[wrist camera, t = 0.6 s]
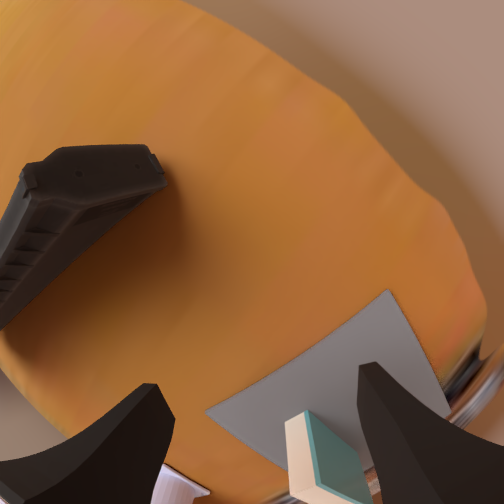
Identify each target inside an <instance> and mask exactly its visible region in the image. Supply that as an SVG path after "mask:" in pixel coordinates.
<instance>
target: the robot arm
mask: <svg viewBox="0 0 504 504" xmlns="http://www.w3.org/2000/svg"><path fill="white" fill-rule="evenodd" d="M356 405H357V409H358V414H359V419H360V423H361V428H362V431H363V434H364V437H365V440H366V443H367V446H368V449H369V451H370V454H371V457H372V460H373V463H374V466H375V470H376V473H377V476H378V480H379V484H380V489H381V495H382V501H383V504H504V446H501V445H498V444H495V443H492V442H489V441H487V440H485V439H482V438H480V437H477V436H475V435H473V434H470V433H468V432H466V431H464V430H463V429H461V428H459V427H457V426H455V425H454V424H452V423H450V422H449V421H447V420H445V419H444V418H442V417H441V416H439V415H438V414H436V413H435V412H434V411H432V410H431V409H430V408H428V407H427V406H426V405H424V404H423V403H422V402H420V401H419V400H418V399H417V398H416V397H414V396H413V395H412V394H411V393H410V392H408V391H407V390H406V389H405V388H404V387H403V386H402V385H401V384H399V383H398V382H397V381H396V380H395V379H394V378H393V377H392V376H391V375H390V374H389V373H388V372H387V371H386V370H385V369H384V368H383V367H382V366H381V365H380V364H379V363H377V362H376V361H375V362H371V363H366V364H362V365H359V370H358V389H357V403H356ZM174 424H175V417H174V415H173V414H172V412H171V410H170V408H169V406H168V404H167V402H166V401H165V399H164V397H163V395H162V393H161V391H160V389H159V387H158V385H157V384H149V383H143V384H142V385H141V386H139V387H138V388H137V389H135V390H134V391H133V392H132V393H130V394H129V395H128V396H127V397H126V398H124V399H123V400H122V401H121V402H120V403H118V404H117V405H116V406H115V407H114V408H112V409H111V410H110V411H109V412H107V413H106V414H105V415H104V416H102V417H101V418H100V419H98V420H97V421H96V422H94V423H93V424H92V425H90V426H89V427H87V428H86V429H85V430H83V431H82V432H80V433H78V434H77V435H75V436H74V437H72V438H70V439H68V440H66V441H65V442H63V443H61V444H59V445H57V446H54V447H52V448H50V449H47V450H45V451H43V452H40V453H37V454H34V455H31V456H28V457H23V458H19V459H14V460H8V461H0V496H1V497H2V498H3V499H5V500H6V501H7V502H8V503H9V504H193V500H194V498H195V497H200V496H205V495H209V494H210V491H209V490H207V489H205V488H203V487H201V486H200V485H198V484H196V483H194V482H193V481H191V480H189V479H188V478H186V477H184V476H183V475H181V474H179V473H178V472H176V471H175V470H173V469H172V468H170V467H169V466H167V465H166V464H163V462H164V459H165V457H166V454H167V451H168V448H169V445H170V442H171V439H172V434H173V429H174ZM2 498H0V504H8V503H7V502H5V501H4V500H3V499H2Z"/></svg>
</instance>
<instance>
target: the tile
mask: <svg viewBox="0 0 504 504" xmlns="http://www.w3.org/2000/svg"><path fill="white" fill-rule="evenodd" d="M285 433H286V446H287V459H288V472H289V486H290V495H291V496H293V497H295V498H298V499H300V500H302V501H304V502H307V503H309V504H373V500H372V497H371V494H370V491H369V487H368V484H367V481H366V478H365V475H364V471H363V468H362V465H361V462H360V459H359V456H358V453H357V452H356V451H355V450H354V449H353V448H351V447H350V446H349V445H348V444H347V443H345V442H344V441H343V440H342V439H341V438H339V437H338V436H337V435H336V434H335V433H333V432H332V431H331V430H330V429H329V428H328V427H327V426H325V425H324V424H323V423H322V422H321V421H320V420H319V419H317V418H316V417H315V416H314V415H313V414H312V413H311V412H310V411H309V410H306V411H304V412H303V413H301V414H299V415H297V416H295V417H294V418H292V419H290V420H288V421H286V422H285Z"/></svg>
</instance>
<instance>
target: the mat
mask: <svg viewBox="0 0 504 504" xmlns="http://www.w3.org/2000/svg"><path fill="white" fill-rule="evenodd" d="M375 361H376V362H377V363H379V364H380V365H381V366H382V367H383V368H384V369H385V370H386V371H387V372H388V373H389V374H390V375H391V376H392V377H393V378H394V379H395V380H396V381H397V382H398V383H399V384H401V385H402V386H403V387H404V388H405V389H406V390H407V391H408V392H410V393H411V394H412V395H413V396H414V397H416V398H417V399H418V400H419V401H420V402H422V403H423V404H424V405H426V406H427V407H428V408H430V409H431V410H432V411H434V412H435V413H436V414H438V415H439V416H441V417H442V418H445V417H447V416H448V415H449V414H450V413H451V410H450V407H449V405H448V403H447V400H446V398H445V396H444V393H443V391H442V389H441V387H440V384H439V382H438V380H437V378H436V376H435V374H434V372H433V370H432V368H431V365H430V363H429V361H428V359H427V357H426V355H425V353H424V352H423V350H422V348H421V346H420V344H419V342H418V340H417V338H416V336H415V334H414V333H413V331H412V329H411V327H410V325H409V323H408V322H407V320H406V318H405V316H404V315H403V313H402V311H401V309H400V308H399V306H398V304H397V302H396V301H395V299H394V297H393V296H392V294H391V292H390V291H389V290H388V289H386V290H385V291H384V292H383V293H382V294H380V295H379V296H378V297H377V298H376V299H374V300H373V301H372V302H371V303H370V304H368V305H367V306H366V307H365V308H363V309H362V310H361V311H360V312H358V313H357V314H356V315H355V316H353V317H352V318H351V319H349V320H348V321H347V322H345V323H344V324H343V325H341V326H340V327H339V328H337V329H336V330H335V331H333V332H332V333H331V334H329V335H328V336H327V337H325V338H324V339H322V340H321V341H320V342H318V343H317V344H315V345H314V346H312V347H311V348H310V349H308V350H307V351H305V352H304V353H302V354H301V355H299V356H298V357H296V358H295V359H293V360H292V361H290V362H289V363H287V364H286V365H284V366H282V367H281V368H279V369H278V370H276V371H274V372H273V373H271V374H270V375H268V376H266V377H265V378H263V379H261V380H260V381H258V382H256V383H255V384H253V385H251V386H250V387H248V388H246V389H244V390H243V391H241V392H239V393H237V394H236V395H234V396H232V397H230V398H228V399H226V400H225V401H223V402H221V403H219V404H217V405H215V406H213V407H211V408H209V409H207V410H206V411H205V414H206V415H208V416H209V417H210V418H211V419H213V420H214V421H215V422H216V423H218V424H219V425H220V426H221V427H223V428H224V429H225V430H227V431H228V432H229V433H231V434H232V435H233V436H235V437H236V438H237V439H239V440H240V441H242V442H243V443H244V444H246V445H247V446H249V447H250V448H252V449H253V450H254V451H256V452H257V453H259V454H260V455H262V456H263V457H265V458H267V459H268V460H270V461H271V462H273V463H274V464H276V465H278V466H279V467H281V468H283V469H284V470H286V471H288V459H287V446H286V433H285V422H286V421H288V420H290V419H292V418H294V417H295V416H297V415H299V414H301V413H303V412H304V411H306V410H309V411H310V412H311V413H312V414H313V415H314V416H315V417H316V418H317V419H319V420H320V421H321V422H322V423H323V424H324V425H325V426H327V427H328V428H329V429H330V430H331V431H332V432H333V433H335V434H336V435H337V436H338V437H339V438H341V439H342V440H343V441H344V442H345V443H347V444H348V445H349V446H350V447H351V448H353V449H354V450H355V451H356V452H357V453H358V456H359V459H360V462H361V465H362V468H363V471H365V470H367V469H369V468H370V467H372V466H374V463H373V460H372V457H371V454H370V451H369V449H368V446H367V443H366V440H365V437H364V434H363V431H362V428H361V423H360V419H359V414H358V409H357V405H356V403H357V389H358V370H359V365H362V364H366V363H371V362H375Z"/></svg>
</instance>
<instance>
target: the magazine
mask: <svg viewBox="0 0 504 504" xmlns="http://www.w3.org/2000/svg"><path fill="white" fill-rule="evenodd" d="M164 173H165V172H164V171H163V169H162V167H161V165H160V163H159V162H158V160H157V158H156V156H155V154H151V152H150V150H149V148H148V147H147V146H146V145H144V144H119V145H87V146H70V147H61V148H59V149H56V150H55V151H54V152H52V153H51V154H50V155H49V156H48V157H46V158H45V159H44V160H43V161H40V162H33V163H27V164H26V165H25V167H24V168H23V169H22V171H21V173H20V175H19V179H20V180H19V182H18V184H17V187H16V189H15V191H14V193H13V195H12V197H11V200H10V202H9V204H8V207H7V209H6V211H5V213H4V215H3V217H2V219H1V221H0V330H1V329H2V328H3V327H4V326H5V325H6V324H7V323H8V322H9V321H11V320H12V319H13V318H14V317H15V316H16V315H17V314H18V313H19V312H20V311H21V310H22V309H23V308H24V307H25V306H26V305H27V304H28V303H29V302H30V301H32V300H33V299H34V298H35V297H36V296H37V295H38V294H39V293H40V292H41V291H42V290H43V289H44V288H45V287H46V286H47V285H48V284H50V283H51V282H52V281H53V280H54V279H55V278H56V277H57V276H58V275H59V274H60V273H61V272H62V271H63V270H65V269H66V268H67V267H68V266H69V265H70V264H71V263H72V262H73V261H74V260H75V259H77V258H78V257H79V256H80V255H81V254H82V253H83V252H84V251H85V250H86V249H88V248H89V247H90V246H91V245H92V244H93V243H94V242H95V241H97V240H98V239H99V238H100V237H101V236H102V235H103V234H104V233H106V232H107V231H108V230H109V229H110V228H111V227H113V226H114V225H115V224H116V223H117V222H119V221H120V220H121V219H122V218H123V217H125V216H126V215H127V214H128V213H129V212H131V211H132V210H133V209H134V208H136V207H137V206H138V205H139V204H141V203H142V202H143V201H144V200H146V199H147V198H148V197H150V196H151V195H152V194H154V193H155V192H156V191H159V190H162V189H163V188H165V187H166V186H167V181H166V179H165V177H164V176H163V174H164Z"/></svg>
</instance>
